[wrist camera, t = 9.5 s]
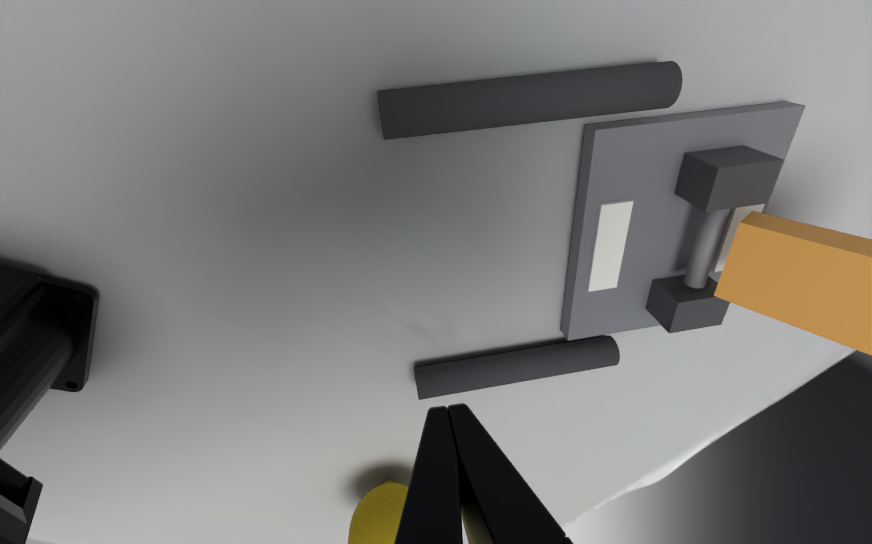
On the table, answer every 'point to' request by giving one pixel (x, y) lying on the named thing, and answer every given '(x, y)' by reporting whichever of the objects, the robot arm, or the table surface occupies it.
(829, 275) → the lever
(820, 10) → the table surface
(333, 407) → the table surface
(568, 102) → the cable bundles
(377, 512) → the lemon
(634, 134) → the base
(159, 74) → the table surface
